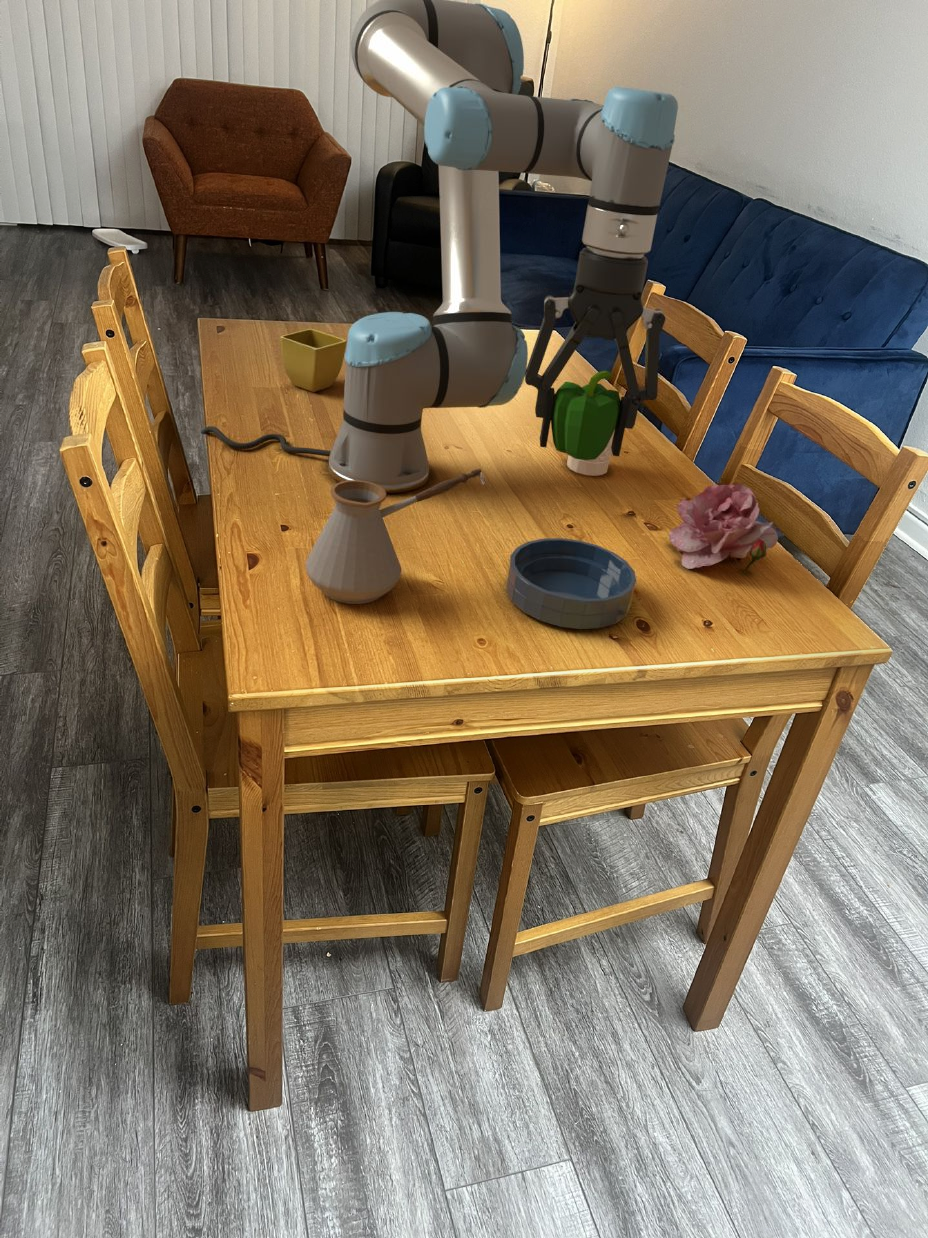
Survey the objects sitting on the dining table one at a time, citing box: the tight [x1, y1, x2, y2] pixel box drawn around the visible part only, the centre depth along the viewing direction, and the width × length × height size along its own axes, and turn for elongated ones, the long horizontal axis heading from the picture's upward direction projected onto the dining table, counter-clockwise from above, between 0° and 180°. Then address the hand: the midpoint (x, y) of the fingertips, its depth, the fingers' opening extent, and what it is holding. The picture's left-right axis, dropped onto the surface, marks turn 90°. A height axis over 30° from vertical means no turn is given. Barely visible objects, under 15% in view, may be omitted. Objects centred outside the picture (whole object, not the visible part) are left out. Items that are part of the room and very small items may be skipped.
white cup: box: [566, 430, 615, 477], centre depth 153 cm, size 8×8×10 cm
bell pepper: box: [550, 370, 621, 460], centre depth 112 cm, size 8×8×10 cm
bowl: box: [505, 537, 637, 630], centre depth 117 cm, size 16×16×4 cm
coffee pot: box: [305, 468, 487, 605], centre depth 112 cm, size 21×12×15 cm, turn 110°
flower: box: [668, 483, 779, 573], centre depth 130 cm, size 15×15×10 cm
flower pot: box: [279, 328, 348, 393], centre depth 171 cm, size 9×9×9 cm
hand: (579, 447), depth 114 cm, fingers closed on bell pepper, 8 cm apart
